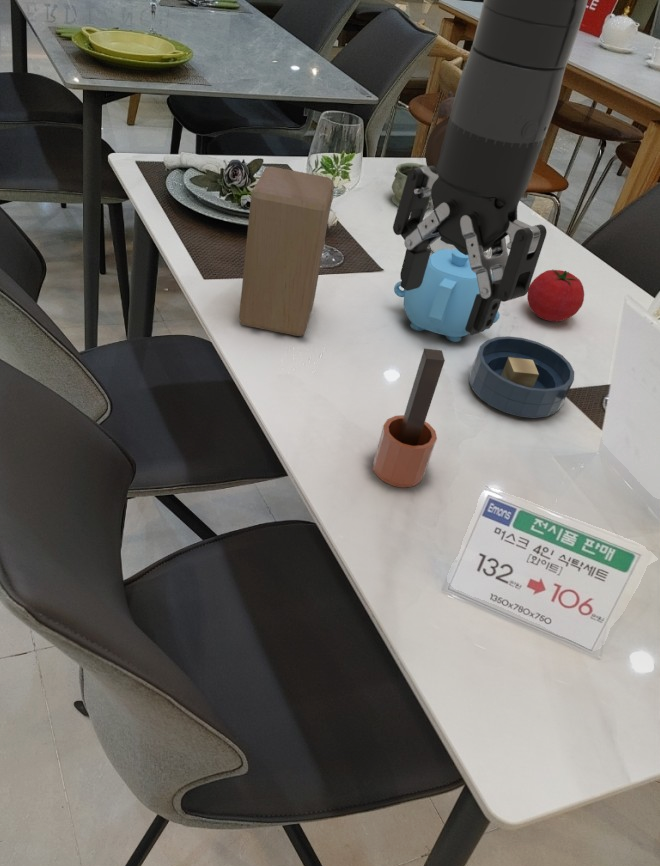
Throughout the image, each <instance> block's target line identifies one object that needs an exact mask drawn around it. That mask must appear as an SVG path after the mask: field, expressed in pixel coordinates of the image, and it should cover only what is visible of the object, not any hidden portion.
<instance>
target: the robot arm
mask: <svg viewBox="0 0 660 866" xmlns="http://www.w3.org/2000/svg"><path fill="white" fill-rule="evenodd" d="M588 1H589V0H483V3H482V7H481V10H480V14H479V18H478V22H477V26H476V29H475V33H474V37H473V41H472V45H471V48H470V50H469V54H468V56H467V59H466V62H465V64H464V66H463V69H462V71H461V74H460V77H459V80H458V84H457V87H456V91H455V94H456V95H455V94H454V95H455V98H454V102H453V106H452V110H451V114H450V116H448V117H449V121H448V125H447V129H446V133H445V136H444V140H443V144H442V148H441V152H440V155H439V159H438V163H437V170H436V168H435V167H434V166H427V165H425V167H419V168H415V169H411V170H410V171H409V172H408V175H407V179H406V182H405V186H404V189H403V193H402V196H401V200H400V203H399V206H397V211H396V215H395V218H394V221H393V225H392V231H393V233H394V234H395V236H401V237H402V238H403V240H404V247H405V254H404V258H403V262H402V265H401V270H400V272H399V273H400V280H401V286H400V288H402V289H403V290H404V289H405V290H406V291H409V290H412V289H416V288H419V287H420V286H421V284H422V282H423V278H424V274H425V271H426V267H427V264H428V260H429V257H430V256H431V253H432V250H431V248H429V247H430V245H431V244H432V243H433V242H434V241H436V240H437V239H438V238H439V237H441V239H440V240H441V241H443V242H445V243H446V244H451V245H454V246H455V247H456V248H457V250H458V251H459V252H461V253H463V254H464V255H468V257H469V262H470V267H471V270H472V271H473V272H475V273H476V276H477V282H478V287H479V292H480V294H477V295H476V298H475V301H474V304H473V307H472V310H471V313H470V316H469V319H468V322H467V325H466V328H465V330H466V331H467V332H468V333H469V335H471V336H475V335H478V334H480V333H483V332H485V331H486V330H489V329H490V328H491V327H492V326H493V325H494V323H493V322H494V320H495V317H496V314H497V311H498V312H499V308H500V307H501V303H502V302H503V303H504V302H507V301H511V300H515V299H517V298H520V297H523V296H526V295H528V289H529V287H530V284H531V283H532V281H533V276H534V273H535V271H536V267H537V265H538V262H539V258H540V256H541V251H542V249H543V246H544V242H545V241H546V237H547V228H546V226H545V225H543V224H536V225H530V224H528V223H525V222H523V221H522V220H519V219H518V207H519V203H520V202H521V200H522V198H523V196H524V195H525V193H526V191H527V190H528V187H529V184H530V182H531V179H532V176H533V174H534V171H535V167H536V165H537V162H538V160H539V156H540V153H541V150H542V147H543V144H544V141H545V139H546V136H547V134H548V130H549V127H550V125H551V122H552V119H553V116H554V113H555V110H556V107H557V104H558V101H559V97H560V93H561V88H562V84H563V79H564V75H565V71H566V68H567V65H568V62H569V61H570V56H571V54H572V51H573V49H574V45H575V43H576V40H577V36H578V33H579V31H580V29H581V24H582V22H583V18H584V15H585V12H586V9H587V5H588ZM437 174H438V175H437ZM430 196H431V197H432V200H431V201H432V206H433V211H432V212H431V213H430V214H429V215H427V216H426V217H425V215H426V211H427V210H428V209H427V205H428V202H429V203H430V201H429V199H430ZM507 236H508V237H509V242H507V241H506V237H507ZM490 249H491V250H490ZM489 250H490V251H491V256H490V257H489V258H487V257H486V256H485V252H487V251H489ZM508 250H509V252H508ZM491 274H492V275H493V280H492V275H491Z"/></svg>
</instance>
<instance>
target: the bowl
mask: <svg viewBox="0 0 660 866" xmlns="http://www.w3.org/2000/svg"><path fill="white" fill-rule="evenodd" d="M508 357H512V358H521V359H530V360H533V361H534V364H535V366H536V368H537V371H538V373H539V375H538V378H537V380H536V382H535V385H534V387H533V388H530V387H526V386H523V385H519V384H516V383H514V382H511V381H509V380H507V379H505V378H503V377H501V374H502V372H503V369H504V367H505V364H506V362H507V359H508ZM469 373H470V374H469V378H468V381H469V385H470V388H471V389H472V391H473V392H474V393H475V394H476V395H475V396H477V398H480V399H481V400H482V401H483V402H485V404H487V405H488V406H490V407H492V408H494V409H497V410H498V411H500V412H502V413H506V414H509V415H512V416H517V417H520V418H530V419H537V418H544V417H549V416H551V415H553V414H556V413H557V412H558V411H559V410H560V409H561V408H562V407H563V404H564V402H565V400H566V398H567V396H568V395H569V394H568V393H569V392H570V390H571V387H572V385H573V383H574V381H575V370H574V368H573V366H572V364H571V363H570V361H569V360H568V359H567V358H565V356H564V355H563V354H561V353H559V352H558V351H556V350H555V349H554V348H552V347H550V346H548V345H546V344H543V343H542V342H539V341H536V340H533V339H528V338H525V337H518V336H510V335H509V336H498V337H493V338H490V339H487V340H485V341H484V342H483V343H482V344H481V345H480V346H479V348H478V351H477V354H476V356H475V359H474V362H473V365H472V367H471V370H470V372H469Z"/></svg>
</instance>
